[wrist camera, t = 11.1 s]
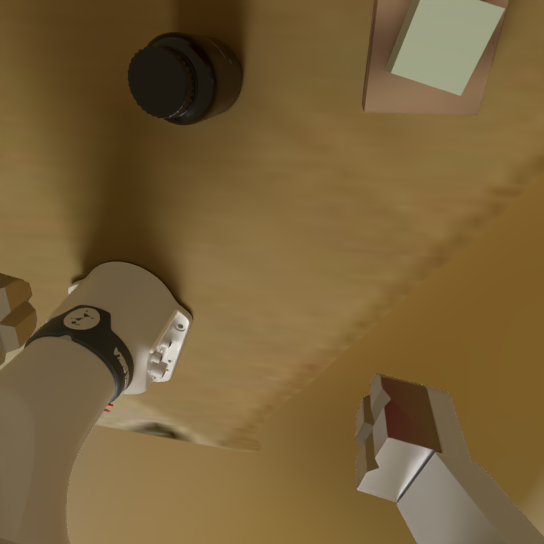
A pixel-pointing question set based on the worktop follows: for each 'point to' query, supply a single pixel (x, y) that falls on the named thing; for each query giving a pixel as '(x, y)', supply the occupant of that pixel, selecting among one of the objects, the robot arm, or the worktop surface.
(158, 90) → the supplement bottle
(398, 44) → the sage block
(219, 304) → the worktop surface
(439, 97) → the pinkish brown block
